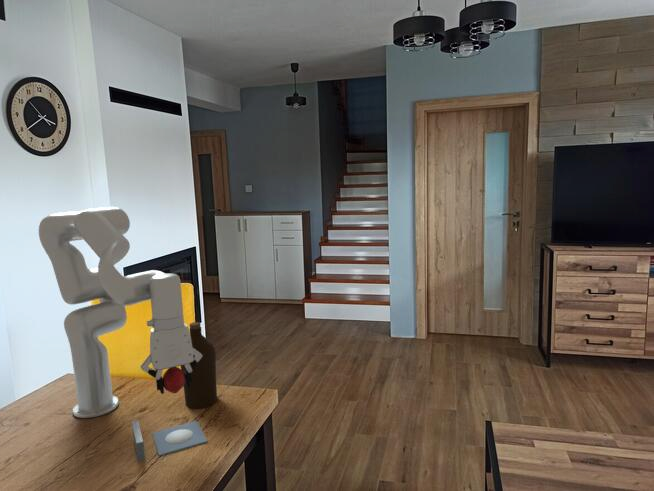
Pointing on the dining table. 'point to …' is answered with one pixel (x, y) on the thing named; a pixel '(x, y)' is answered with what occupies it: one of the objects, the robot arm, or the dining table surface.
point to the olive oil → (201, 372)
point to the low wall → (138, 441)
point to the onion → (174, 379)
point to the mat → (178, 438)
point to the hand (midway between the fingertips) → (174, 388)
